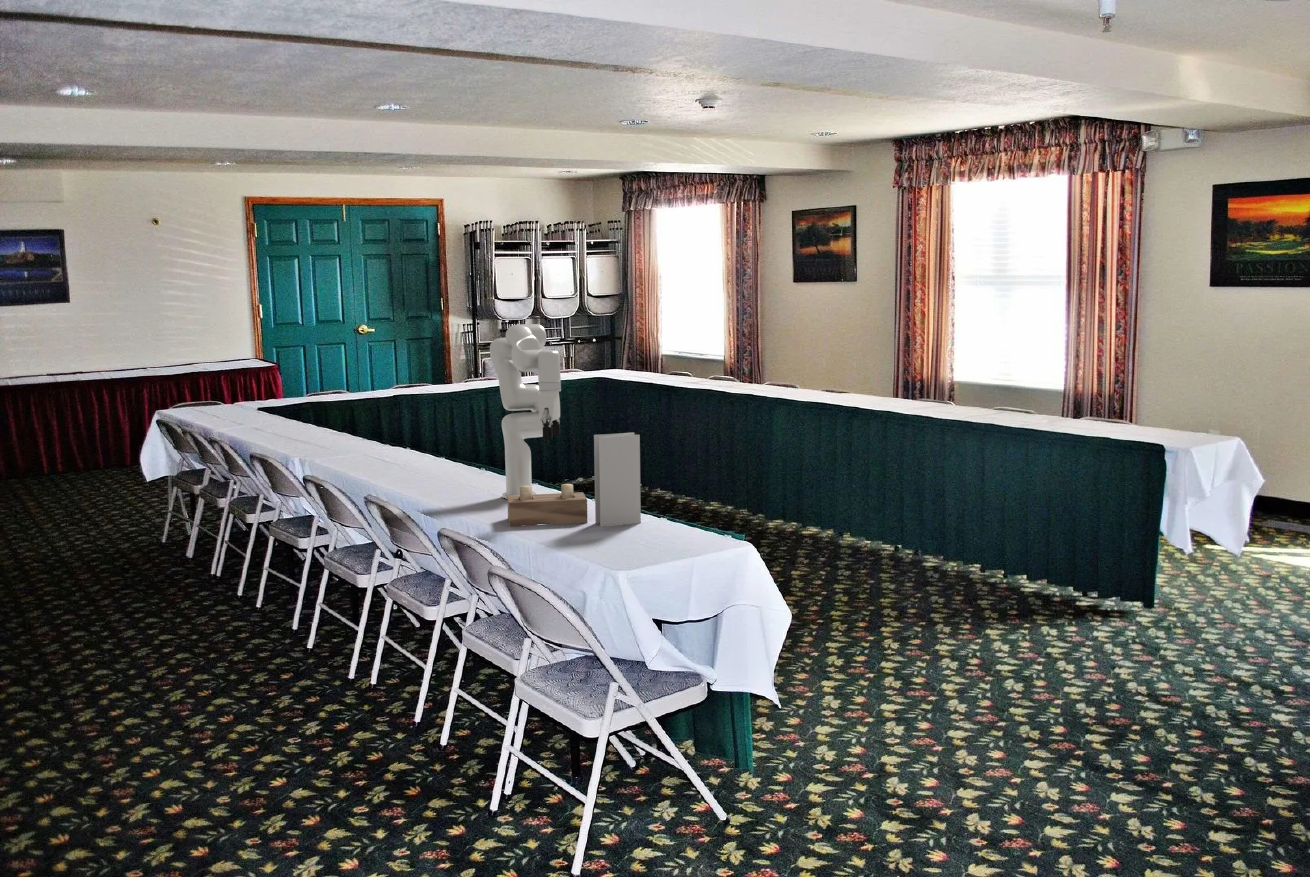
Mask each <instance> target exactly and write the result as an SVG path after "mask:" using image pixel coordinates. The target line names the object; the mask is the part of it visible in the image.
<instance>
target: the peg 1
mask: <svg viewBox="0 0 1310 877" xmlns="http://www.w3.org/2000/svg"><path fill="white" fill-rule="evenodd" d="M532 486H533V485H532ZM532 486H521V487H520V500H532V490H533V487H532Z"/></svg>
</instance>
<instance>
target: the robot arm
mask: <svg viewBox="0 0 1310 877" xmlns="http://www.w3.org/2000/svg"><path fill="white" fill-rule="evenodd" d="M546 342H547V331H546V329H545V328H544V326H542V325H541V324H539V323H527V324H526V323H524V324H523V323H522V324H521V323H520V324H513V325H511V326H510V327H508V328H507V330H506V332H505V337H500V338H499V337H498V338H496V339H493V340H492V342H491V343H490V345H489V356H490V360H491V363H492V366H493V369H494V370H495V372H496V376H497V379H498V385H499V392H500V393H499V394H500V398H501V402H502V406H503V408H504V409H505V410H506V411H509V412H510V411H512V412H513V411H531V412H516V413H515V412H514V413H510V414H509V413H508V414H506V415H505V416H504V417H502V420H501V429H502V430H501V431H502V434H503V443H504V461H505V488H506V489H505V492H503V493H502V496H501V497H502V498H503V499H504V498H505V499H504V500H507V496H512V495H520V487H521V486H533V484H532V453H531V452H532V451H531V448H530V446H529V445H528V443H527V442H525V440H526V439H532V438H542V439H543V440H552V439H553V436H554V437H558V436H561V424H560V423H561V421H560V418H561V401H560V394H559V393H560V392H561V391H562V385H561V384H562V381H561V379H562V378H561V356H560V355H561V354H560V353H559V351H558V350H553V349H547V348H546V349H545V348H544V347H545V345H546ZM511 361H512V362H511ZM521 372H522V373H533V372H534V373H535V372H537V377H538V381H537V382H538V384H532V383H531V384H523V381H522V374H521ZM534 494H537V492H535V491H532V495H534Z"/></svg>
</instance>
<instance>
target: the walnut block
mask: <svg viewBox="0 0 1310 877" xmlns="http://www.w3.org/2000/svg"><path fill="white" fill-rule="evenodd" d="M506 500H507V501H506V502H507V520H509V521H508V524H510V525H509V527H510V526H511V527H522V526H521V525H531V526H538V525H537V524H551V525H565V524H566V525H567V524H586V523H588V499H587V497H586V495H585V493H584V492H582V491H581V492H580V491H579V492H573V498H562V495H561V492H559V493H538V494H537V493H536V494H534V495H532V500H520V495H512V496H507V499H506Z"/></svg>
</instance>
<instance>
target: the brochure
mask: <svg viewBox="0 0 1310 877" xmlns="http://www.w3.org/2000/svg"><path fill="white" fill-rule="evenodd" d="M640 440H641V437H640V434H636V433H635V432H623V433H622V432H621V433H619V432H618V433H607V434H606V433H605V434H594V435H593V442H594V443H593V450H594V451H593V452H594V453H593V457H594V504H595V506H594V507H595V508H594V509H595V510H594V511H595V518H594V519H595V524H600V528H604V527H612V526H613V525H616V526H622V525H621V524H626V525H634V524H641V521H642V519H641V517H642V516H641V515H642V514H641V513H642V512H641V442H640ZM613 527H614V526H613Z"/></svg>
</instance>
